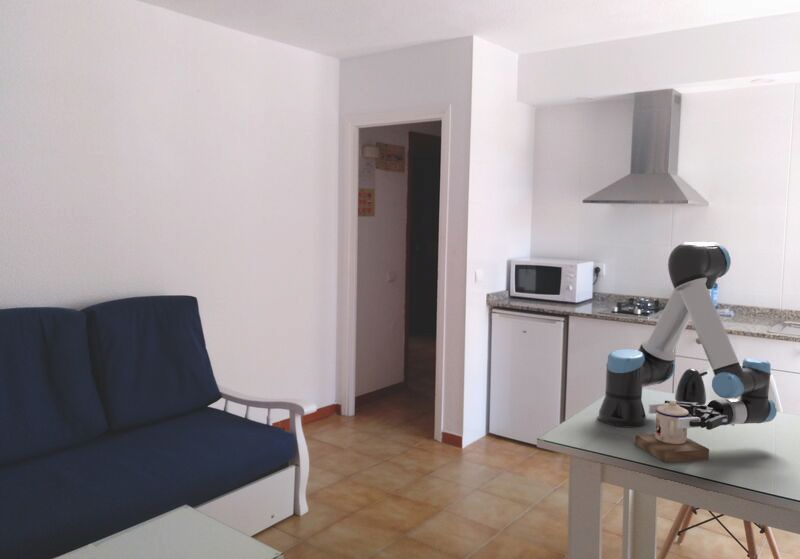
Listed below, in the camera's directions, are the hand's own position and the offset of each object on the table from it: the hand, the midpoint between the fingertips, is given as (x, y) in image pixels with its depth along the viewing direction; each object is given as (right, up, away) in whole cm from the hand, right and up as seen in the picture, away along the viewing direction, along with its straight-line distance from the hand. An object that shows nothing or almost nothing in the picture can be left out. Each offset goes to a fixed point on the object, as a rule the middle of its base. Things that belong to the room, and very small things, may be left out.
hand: (663, 415), depth 193 cm
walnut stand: (+3, -11, +2) cm, 11 cm away
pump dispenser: (+27, -7, +43) cm, 52 cm away
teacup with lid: (+3, -8, +2) cm, 9 cm away
